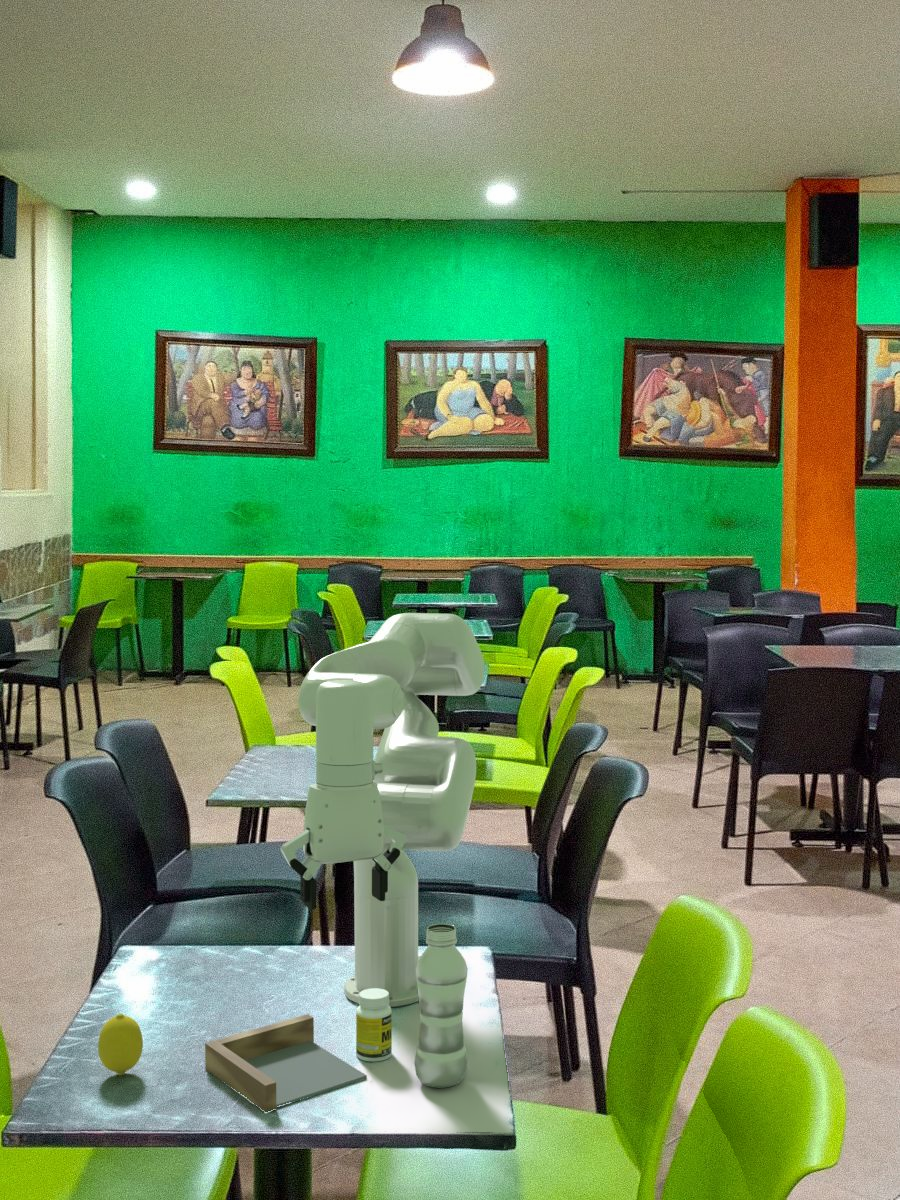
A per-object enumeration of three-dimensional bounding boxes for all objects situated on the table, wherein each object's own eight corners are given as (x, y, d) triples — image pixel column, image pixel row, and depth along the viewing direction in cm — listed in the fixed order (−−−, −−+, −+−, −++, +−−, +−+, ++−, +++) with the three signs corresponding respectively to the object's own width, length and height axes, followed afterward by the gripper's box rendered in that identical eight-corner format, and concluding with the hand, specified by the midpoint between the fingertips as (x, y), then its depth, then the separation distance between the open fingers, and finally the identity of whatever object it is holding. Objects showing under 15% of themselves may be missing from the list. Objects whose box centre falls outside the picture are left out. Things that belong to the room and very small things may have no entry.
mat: (310, 1043, 175) (310, 1040, 175) (366, 1078, 165) (366, 1075, 165) (221, 1070, 167) (221, 1067, 167) (274, 1108, 157) (274, 1105, 157)
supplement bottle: (386, 1064, 169) (386, 1001, 168) (351, 1061, 170) (351, 998, 169) (395, 1049, 174) (395, 988, 173) (361, 1046, 175) (361, 985, 174)
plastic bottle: (406, 1077, 165) (406, 924, 164) (454, 1067, 168) (454, 917, 167) (426, 1098, 159) (426, 939, 158) (476, 1088, 162) (476, 932, 161)
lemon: (90, 1081, 164) (89, 1020, 163) (113, 1063, 169) (111, 1003, 169) (129, 1086, 163) (128, 1024, 162) (151, 1068, 168) (150, 1008, 167)
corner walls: (307, 1038, 177) (307, 1014, 177) (372, 1078, 165) (372, 1052, 165) (205, 1069, 167) (205, 1043, 167) (265, 1113, 155) (265, 1085, 155)
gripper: (394, 765, 177) (394, 888, 178) (272, 774, 170) (273, 903, 171) (416, 774, 171) (415, 902, 171) (290, 784, 163) (290, 918, 164)
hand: (344, 902), depth 171 cm, fingers open, 9 cm apart
